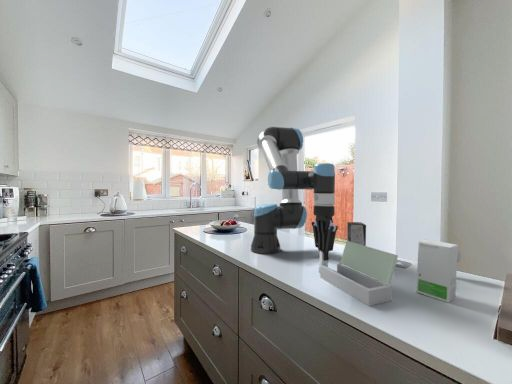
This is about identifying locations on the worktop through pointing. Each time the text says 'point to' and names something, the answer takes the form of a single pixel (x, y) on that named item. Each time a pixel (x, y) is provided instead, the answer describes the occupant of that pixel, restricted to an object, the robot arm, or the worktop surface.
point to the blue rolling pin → (329, 268)
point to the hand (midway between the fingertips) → (323, 268)
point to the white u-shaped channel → (358, 285)
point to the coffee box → (356, 232)
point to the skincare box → (437, 269)
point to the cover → (369, 261)
